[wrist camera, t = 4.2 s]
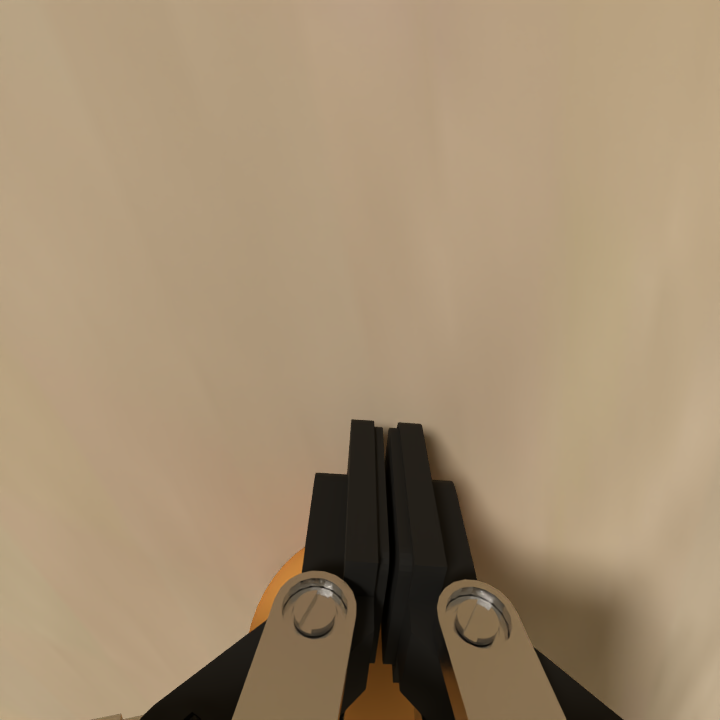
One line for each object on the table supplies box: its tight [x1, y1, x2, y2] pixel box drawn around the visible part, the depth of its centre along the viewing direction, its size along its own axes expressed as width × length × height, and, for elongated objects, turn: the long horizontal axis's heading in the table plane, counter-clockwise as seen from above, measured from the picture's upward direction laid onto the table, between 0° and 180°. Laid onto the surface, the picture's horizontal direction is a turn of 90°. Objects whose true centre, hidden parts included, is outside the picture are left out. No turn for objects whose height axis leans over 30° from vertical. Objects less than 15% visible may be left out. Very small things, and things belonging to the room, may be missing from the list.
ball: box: [249, 548, 415, 720], centre depth 12 cm, size 6×6×6 cm
